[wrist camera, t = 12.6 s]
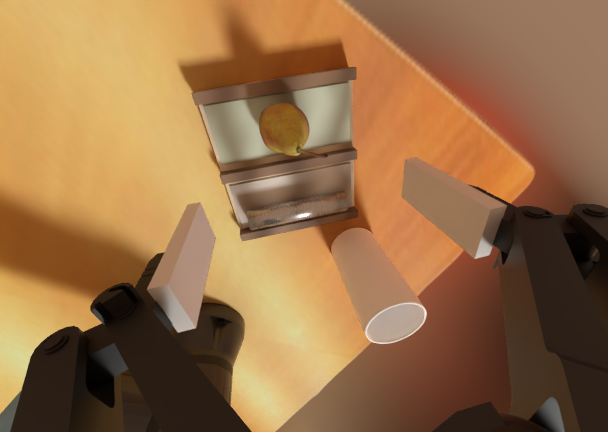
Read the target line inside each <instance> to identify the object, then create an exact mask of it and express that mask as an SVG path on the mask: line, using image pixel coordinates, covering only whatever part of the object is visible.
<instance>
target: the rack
mask: <svg viewBox="0 0 608 432" xmlns="http://www.w3.org/2000/svg"><path fill="white" fill-rule="evenodd" d="M352 80H356V67H346V68H339V69H333V70H327V71H320V72H314V73H308V74H301V75H295V76H289V77H282V78H276V79H270V80H264V81H257V82H251V83H245V84H238V85H232V86H226V87H219V88H213V89H207V90H200V91H195V92H193V93H191V94H192V97H193V99H194V102H195V105H199V108H200V111H201V114H202V117H203V120H204V123H205V126H206V129H207V132H208V135H209V138H210V141H211V144H212V147H213V150H214V153H215V155H216V158H217V161H218V164H219V167H220V170H221V174H220V178H221V181H222V184H225V185H226V188H227V191H228V194H229V197H230V200H231V203H232V206H233V209H234V212H235V215H236V218H237V221H238V224H239V227H240V237H241V239H242V241H246V240H251V239H256V238H261V237H265V236H270V235H275V234H280V233H285V232H289V231H294V230H299V229H304V228H308V227H313V226H318V225H323V224H328V223H332V222H337V221H342V220H347V219H351V218H356V217H358V210H357V209H356V208H355V206H354V160H355V159H357V150H356V149H355V148H354V147H353V94H352ZM277 103H291V104H294V105H296V106H297V107H298V108H300V109H301V110H302V111H303V113H304V114H305V116H306V117H307V120H308V123H309V129H310V131H309V137H308V139H307V141H306V143H305V145H304V146H303V150H306V151H308V152H313V153H317V154H327V155H328V157H326V158H320V157H316V156H313V155H310V154H306V153H303V152H301V153H300V154H299V155H297V156H290V155H287V154H285V153H278V152H274V151H272V150H270V149H269V148H268V147H267V146H266V145H265V144H264V142H263V140H262V137H261V134H260V130H259V120H260V116H261V113H262V111H263V110H264V109H265V108H267V107H269V106H271V105H273V104H277ZM342 190H344V191H345V193H346V195H347V199H348V210H347V211H342V212H338V213H333V214H328V215H323V216H318V217H313V218H308V219H304V220H299V221H294V222H289V223H284V224H279V225H275V226H270V227H265V228H260V229H255V230H251V229H250V227H249V223H248V219H247V209H252V208H257V207H262V206H267V205H272V204H277V203H282V202H287V201H292V200H297V199H302V198H307V197H312V196H317V195H322V194H327V193H332V192H337V191H342Z"/></svg>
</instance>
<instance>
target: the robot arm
mask: <svg viewBox="0 0 608 432" xmlns="http://www.w3.org/2000/svg"><path fill="white" fill-rule="evenodd" d="M402 198H403V199H405V200H406V201H407V202H408V203H409V204H411V205H412V206H413V207H414V208H415V209H416V210H418V211H419V212H420V213H421V214H422V215H424V216H425V217H426V218H427V219H428V220H429V221H431V222H432V223H433V224H434V225H435V226H437V227H438V228H439V229H440V230H441V231H442V232H444V233H445V234H446V235H447V236H448V237H450V238H451V239H452V240H453V241H454V242H455V243H457V244H458V245H459V246H460V247H461V248H463V249H464V250H465V251H466V252H467V253H469V254H470V255H471V256H472V257H473V258H474V259H475V258H480V257H484V256H488V255H490V252H491V249H492V246H493V245H494V246H496V247H497V248H498V249H500V250H499V253H498V255H497V258H496V261H495V263H494V266H493V268H496V267H497V265H498V266H499V275H500V285H501V295H502V304H503V314H504V323H505V333H506V342H507V352H508V361H509V371H510V380H511V390H512V401H511V406H510V411H509V414H504V413H498V412H497V410H496V409H495V408H494V406H493V405H492V403H491V402H487V403H484V404H481V405H477V406H474V407H471V408H467V409H464V410H461V411H458V412H456V413H454V414H453V415H452V416H451V417H449V418H448V419H447V420H446V421H445V422H443V423H442V424H441V425H440V426H439V427H437V428H436V429H435V430H434V431H432V432H608V208H605V207H603V206H600V205H595V204H578V205H575V206H573V208H572V209H571V211H570V213H569V215H554V214H553V213H551V212H549V211H548V210H545V209H542V208H539V207H532V206H522V207H518V208H517V207H516V206H513V205H512V204H510V203H508V202H506V201H504V200H502V199H500V198H498V197H496V196H494V195H492V194H490V193H487V192H486V191H485V190H483V189H481V188H479V187H475V186H472V185H468V184H465V183H464V182H462V181H460V180H458V179H456V178H454V177H452V176H450V175H448V174H447V173H445V172H443V171H441V170H439V169H437V168H435V167H433V166H431V165H430V164H428V163H426V162H424V161H422V160H420V159H418V158H416V157H415V158H411V159H406V160H405V165H404V177H403V188H402ZM215 239H216V238H215V235H214V233H213V231H212V228H211V226H210V224H209V221H208V219H207V217H206V214H205V212H204V210H203V207H202V205H201V203H200V202H199V203H195V204H190V205H187V207H186V209H185V211H184V213H183V215H182V217H181V219H180V222H179V224H178V226H177V228H176V230H175V232H174V234H173V236H172V238H171V240H170V242H169V244H168V246H167V248H166V251H165V252H164V253H159V254H157V255H156V256H154V257H153V258H152V259H151V260H150V261H149V263H148V265H147V267H146V268H145V271H144V272H143V274H142V276H141V278H140V280H139V281H138V283H137V285H136V287H135V288H134V287H133V286H132V285H131V284H129V283H121V284H118V285H114V286H112V287H110V288H108V289H107V290H105V291H104V292H102V293H101V294H100V295H99V296H98V297H97V298H96V299H95V300H94V301H93V303H92V304H91V306H90V308H91V312H92V313H93V314H94V315H95V316H96V317H97V318H98V319H99V320H100V321H101V322H102V324H100V325H98V326H95V327H93V328H91V329H89V330H87V331H85V332H82V331H81V330H80V329H79V328H78V327H75V326H71V327H66V328H63V329H61V330H58V331H57V332H55V333H54V334H52V335H50V336H49V337H47V338H46V339H45V340H44V341H43V342H41V343H40V345H39V346H38V347H37V348H36V349H35V350H34V352H33V354H32V356H31V359H30V362H29V366H28V369H27V373H26V377H25V380H24V384H23V387H22V390H21V391H20V393H19V394H18V395H17V396H16V397H15V398H14V399H13V400H12V402H11V403H10V404H9V405H8V406H7V407H6V408H5V410H4V411H3V412H2V413H1V414H0V432H251V430H250V429H249V428H248V427H247V425H246V424H245V423H244V422H243V421H242V419H241V418H240V417H239V416H238V414H237V413H236V412H235V411H234V410H233V408H232V407H231V406H230V405H231V390H232V374H233V366H234V363H235V360H236V358H237V355H238V353H239V350H240V347H241V345H242V342H243V339H244V331H245V324H244V320H243V318H242V317H241V315H240V314H239V313H237V312H236V311H235V310H233V309H231V308H229V307H226V306H223V305H219V304H210V303H203V304H201V303H202V299H203V294H204V289H205V285H206V280H207V276H208V271H209V267H210V262H211V257H212V253H213V248H214V244H215ZM598 250H599V253H600V259H599V261H598V260H597V259H596V258H595V257H594V255H595V254H596V252H597V251H598Z"/></svg>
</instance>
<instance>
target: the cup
mask: <svg viewBox="0 0 608 432" xmlns="http://www.w3.org/2000/svg"><path fill="white" fill-rule="evenodd" d="M331 253H332V256H333V258H334V261H335V263H336V266H337V268H338V270H339V273H340V275H341V278H342V280H343V282H344V285H345V287H346V290H347V292H348V294H349V297H350V299H351V302H352V304H353V306H354V309H355V311H356V314H357V316H358V319H359V321H360V323H361V326H362V328H363V331H364V333H365V335H366V337H367V338H368V339H369V340H370V341H372V342H374V343H379V344H385V343H392V342H396V341H399V340H402V339H404V338H406V337H408V336H410V335H411V334H413V333H414V332H416V331H417V330H418V329H419V328H420V327H421V326H422V324H423V323H424V321H425V319H426V310H425V308H424V306H423V305H422V303H421V302H420V301H419V299H418V298H417V296H416V295H415V293H414V292H413V291H412V289H411V288H410V286H409V285H408V284H407V282H406V281H405V279H404V278H403V276H402V275H401V274H400V272H399V271H398V269H397V268H396V267H395V265H394V264H393V262H392V261H391V260H390V258H389V257H388V255H387V254H386V253H385V251H384V250H383V248H382V247H381V245H380V244H379V243H378V241H377V240H376V238H375V237H374V236H373V234H372V233H371V232H370V231H369V230H367V229H365V228H351V229H348V230H346V231H344V232H342V233H341V234H339V235H338V236H337V237H336V238H335V240H334V241H333V243H332V247H331Z"/></svg>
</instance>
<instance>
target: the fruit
mask: <svg viewBox="0 0 608 432" xmlns="http://www.w3.org/2000/svg"><path fill="white" fill-rule="evenodd" d="M259 130H260V134H261V137H262V140H263V142H264V144H265V145H266V146H267V147H268V148H269V149H270V150H272V151H274V152H278V153H285V154H287V155H290V156H297V155H299V154H300V153H301V152H303V153H306V154H310V155H313V156H316V157H320V158H326V157H328V155H327V154H317V153H313V152H308V151H306V150H303V146H304V145H305V143H306V141H307V139H308V137H309V131H310V129H309V123H308V120H307V117H306V116H305V114H304V113H303V111H302V110H301V109H300V108H298V107H297V106H296V105H294V104H291V103H277V104H273V105H271V106H269V107H267V108H265V109H264V110H263V111H262V113H261V116H260V120H259Z"/></svg>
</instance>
